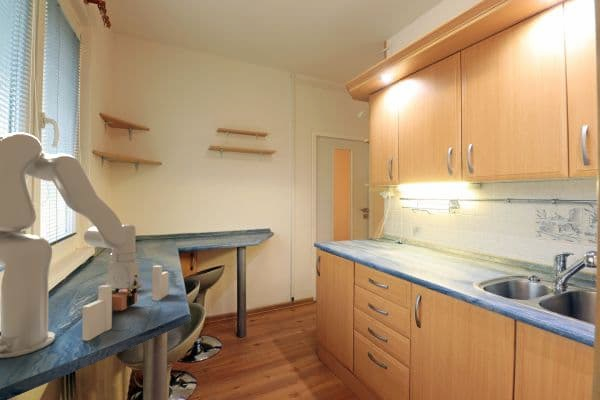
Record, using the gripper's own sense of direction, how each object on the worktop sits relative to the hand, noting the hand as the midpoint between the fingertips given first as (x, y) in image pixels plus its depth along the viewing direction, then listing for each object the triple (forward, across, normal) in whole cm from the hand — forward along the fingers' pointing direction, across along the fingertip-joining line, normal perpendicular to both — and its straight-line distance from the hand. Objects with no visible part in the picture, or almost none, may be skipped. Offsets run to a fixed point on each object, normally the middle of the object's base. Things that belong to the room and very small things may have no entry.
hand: (123, 304), depth 104 cm
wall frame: (+2, +6, -1) cm, 6 cm away
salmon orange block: (+1, 0, 0) cm, 1 cm away
